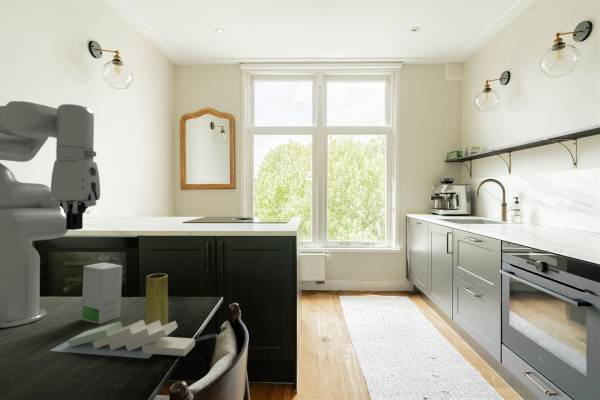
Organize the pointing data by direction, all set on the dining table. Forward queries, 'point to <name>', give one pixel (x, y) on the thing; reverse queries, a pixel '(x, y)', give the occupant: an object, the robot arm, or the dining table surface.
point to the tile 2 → (119, 334)
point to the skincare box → (101, 292)
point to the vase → (156, 299)
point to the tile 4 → (153, 336)
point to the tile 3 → (136, 335)
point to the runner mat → (101, 350)
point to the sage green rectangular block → (95, 334)
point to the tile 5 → (169, 346)
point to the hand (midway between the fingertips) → (74, 229)
